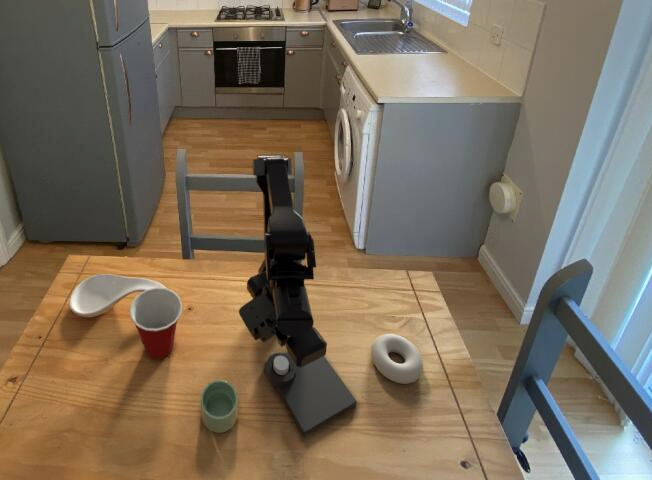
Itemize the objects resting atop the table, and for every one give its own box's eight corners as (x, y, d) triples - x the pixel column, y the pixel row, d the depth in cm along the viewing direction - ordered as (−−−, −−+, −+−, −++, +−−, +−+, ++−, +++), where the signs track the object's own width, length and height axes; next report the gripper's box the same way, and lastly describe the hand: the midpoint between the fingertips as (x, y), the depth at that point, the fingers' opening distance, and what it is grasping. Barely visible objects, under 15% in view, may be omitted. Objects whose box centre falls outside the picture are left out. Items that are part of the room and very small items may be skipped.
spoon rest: (64, 326, 96) (58, 303, 94) (81, 285, 107) (76, 263, 104) (166, 326, 96) (164, 304, 93) (173, 285, 107) (171, 263, 104)
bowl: (196, 405, 80) (195, 389, 78) (228, 389, 83) (227, 373, 81) (210, 441, 75) (209, 426, 73) (244, 423, 77) (244, 407, 75)
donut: (373, 383, 84) (427, 392, 82) (374, 371, 82) (429, 380, 80) (367, 337, 93) (416, 345, 91) (369, 326, 91) (418, 333, 89)
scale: (260, 369, 86) (260, 359, 85) (312, 344, 91) (313, 334, 90) (299, 439, 75) (300, 429, 73) (356, 406, 80) (358, 395, 78)
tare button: (270, 364, 85) (270, 359, 84) (283, 358, 86) (283, 353, 85) (278, 378, 82) (278, 372, 81) (291, 371, 83) (291, 366, 83)
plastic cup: (194, 353, 90) (191, 313, 85) (146, 380, 85) (140, 339, 80) (172, 316, 98) (169, 277, 94) (128, 338, 93) (122, 299, 89)
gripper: (222, 264, 80) (224, 322, 86) (273, 347, 64) (271, 410, 70) (272, 245, 84) (270, 302, 90) (332, 319, 69) (325, 381, 75)
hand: (282, 344), depth 81 cm, fingers closed
